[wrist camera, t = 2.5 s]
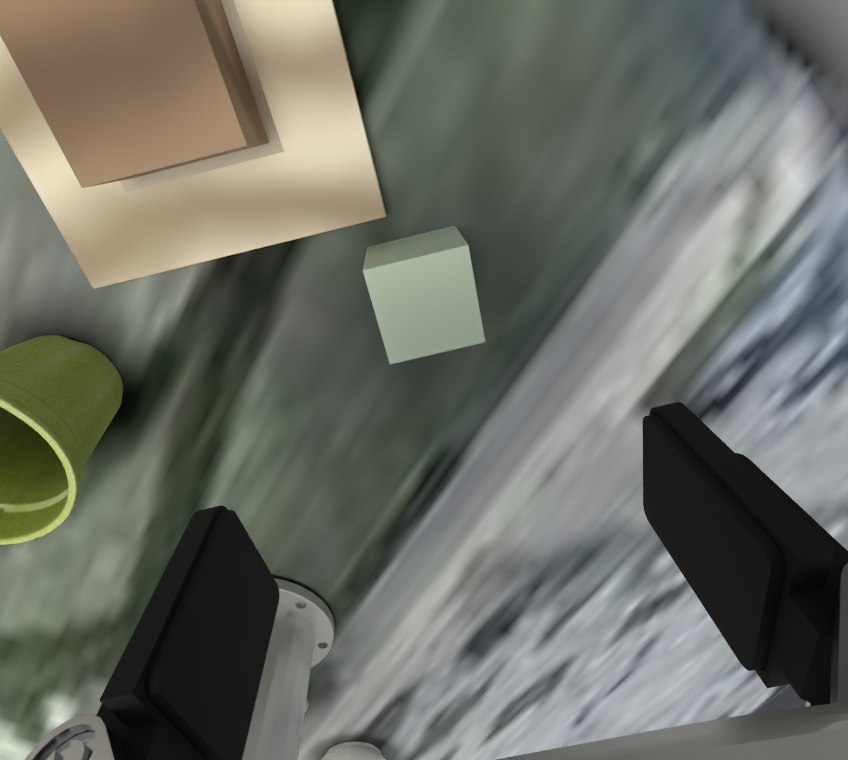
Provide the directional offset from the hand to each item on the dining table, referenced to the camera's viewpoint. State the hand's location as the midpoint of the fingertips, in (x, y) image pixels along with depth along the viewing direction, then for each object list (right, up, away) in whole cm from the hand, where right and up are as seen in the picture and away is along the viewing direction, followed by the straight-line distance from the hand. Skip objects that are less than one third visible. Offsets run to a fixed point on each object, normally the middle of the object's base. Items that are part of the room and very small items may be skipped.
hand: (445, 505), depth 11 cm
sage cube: (-1, +9, +17) cm, 19 cm away
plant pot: (-22, +3, +18) cm, 29 cm away
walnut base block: (-12, +16, +10) cm, 23 cm away
